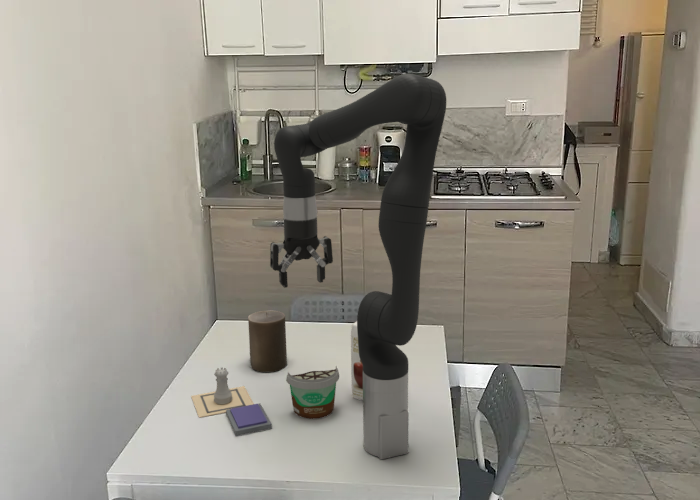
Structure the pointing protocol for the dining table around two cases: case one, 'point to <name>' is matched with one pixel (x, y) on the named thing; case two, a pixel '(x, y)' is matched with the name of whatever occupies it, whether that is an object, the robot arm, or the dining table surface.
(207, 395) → the marked card
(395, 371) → the robot arm
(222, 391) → the rook chess piece
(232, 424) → the ink pad
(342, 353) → the dining table surface
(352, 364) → the juice carton
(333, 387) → the food container
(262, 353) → the pillar candle
